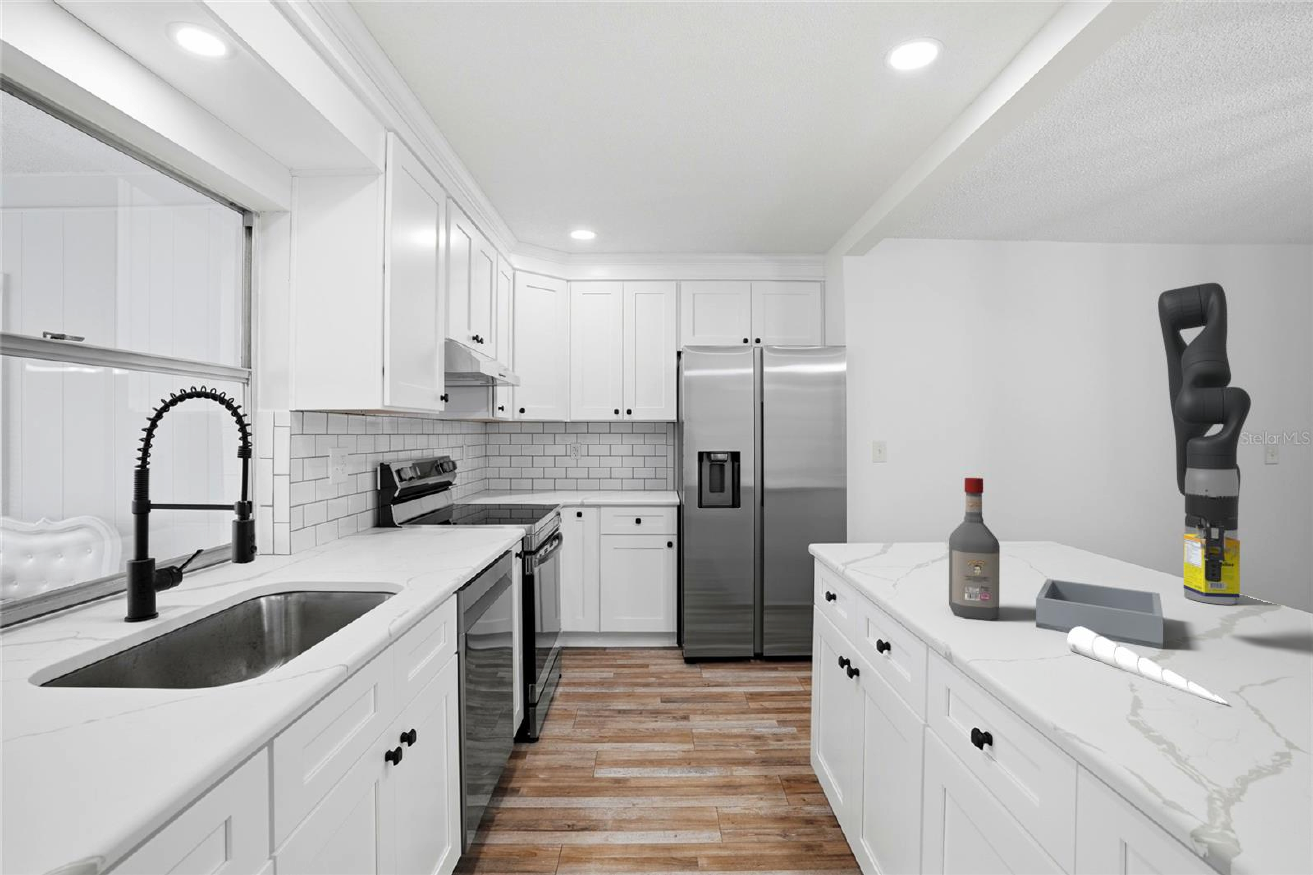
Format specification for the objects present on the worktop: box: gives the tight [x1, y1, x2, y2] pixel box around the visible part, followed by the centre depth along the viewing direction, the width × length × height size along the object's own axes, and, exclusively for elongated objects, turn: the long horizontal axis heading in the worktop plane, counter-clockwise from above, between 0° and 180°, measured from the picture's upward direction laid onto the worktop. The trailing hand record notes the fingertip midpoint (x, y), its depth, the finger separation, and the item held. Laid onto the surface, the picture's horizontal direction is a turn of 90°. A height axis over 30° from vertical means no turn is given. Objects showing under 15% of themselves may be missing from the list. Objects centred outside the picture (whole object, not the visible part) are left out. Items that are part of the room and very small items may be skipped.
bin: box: [1035, 578, 1164, 650], centre depth 125 cm, size 20×20×6 cm
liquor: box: [948, 477, 1001, 621], centre depth 132 cm, size 9×9×30 cm
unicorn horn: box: [1066, 626, 1230, 705], centre depth 99 cm, size 5×24×5 cm, turn 13°
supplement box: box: [1183, 533, 1241, 599], centre depth 115 cm, size 6×6×11 cm
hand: (1210, 576), depth 115 cm, fingers closed on supplement box, 8 cm apart
